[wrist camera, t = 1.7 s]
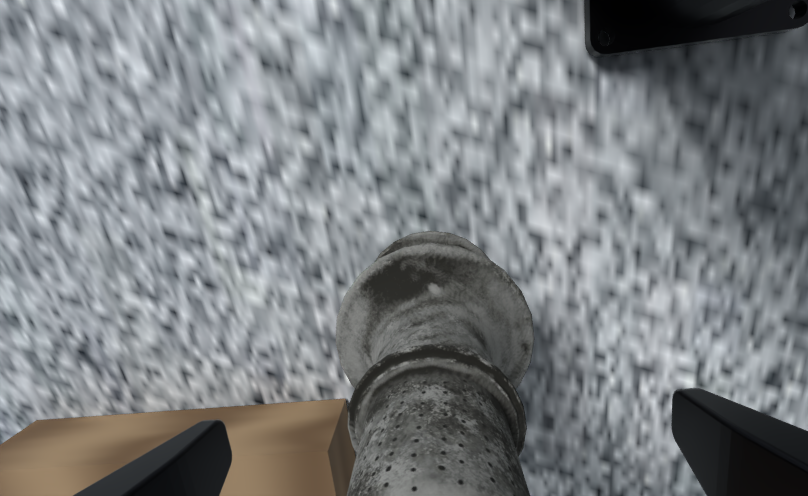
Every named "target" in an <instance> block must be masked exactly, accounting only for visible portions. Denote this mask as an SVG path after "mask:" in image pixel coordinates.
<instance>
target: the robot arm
mask: <svg viewBox="0 0 808 496" xmlns="http://www.w3.org/2000/svg"><path fill="white" fill-rule="evenodd" d="M584 4H585V44H586V49H587V50H588V52H589V53H590V54H591V55H593V56H595V57H607V56H614V55H622V54H629V53H636V52H643V51H651V50H658V49H665V48H673V47H680V46H687V45H694V44H702V43H709V42H716V41H724V40H731V39H738V38H746V37H753V36H760V35H767V34H775V33H782V32H787V31H790V30H793V29H795V28H798V27H801V26H804V25H805V24H806V23H808V0H584ZM790 6H792V7H793V8H794V9H795V15H794V18H793V19H792V18H791V17H790V16H789V8H790ZM600 32H606V33H607V34H608V35H609V39H610V40H609V44H608V45H607V46H604V45H602V44H600V43H599V40H598V36H599V33H600ZM671 426H672V433H673V436H674V439H675V441H676V443H677V445H678V446H679V448H680V450H681V452H682V453H683V455H684V457H685V458H686V460H687V462H688V464H689V465H690V467H691V469H692V471H693V472H694V474H695V476H696V477H697V479H698V481H699V483H700V484H701V486H702V488H703V490H704V491H705V493H706V495H707V496H808V431H806V430H804V429H801V428H798V427H796V426H793V425H791V424H788V423H786V422H783V421H781V420H778V419H776V418H773V417H771V416H768V415H766V414H763V413H761V412H758V411H756V410H753V409H751V408H748V407H746V406H743V405H741V404H738V403H736V402H733V401H731V400H728V399H725V398H723V397H720V396H718V395H715V394H713V393H710V392H708V391H705V390H703V389H700V388H690V389H678V390H676V391H675V392H674V394H673V398H672V425H671ZM231 463H232V450H231V446H230V442H229V438H228V434H227V430H226V426H225V424H224V422H223V421H222V420H219V419H217V420H203V421H200V422H198V423H197V424H195V425H193V426H192V427H190V428H188V429H186V430H185V431H183V432H181V433H180V434H178V435H176V436H174V437H173V438H171V439H169V440H167V441H166V442H164V443H162V444H161V445H159V446H157V447H155V448H154V449H152V450H150V451H149V452H147V453H145V454H143V455H142V456H140V457H138V458H136V459H135V460H133V461H131V462H130V463H128V464H126V465H124V466H123V467H121V468H119V469H118V470H116V471H114V472H112V473H111V474H109V475H107V476H105V477H104V478H102V479H100V480H99V481H97V482H95V483H93V484H92V485H90V486H88V487H87V488H85V489H83V490H81V491H80V492H78V493H76V494H74V495H73V496H219V495H220V493H221V490H222V487H223V485H224V482H225V480H226V477H227V474H228V472H229V469H230V466H231Z"/></svg>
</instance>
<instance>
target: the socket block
mask: <svg viewBox="0 0 808 496" xmlns="http://www.w3.org/2000/svg"><path fill="white" fill-rule="evenodd" d="M217 419H219V420H222V421H223V422H224V424H225V426H226V430H227V434H228V438H229V442H230V446H231V450H232V463H231V466H230V469H229V472H228V474H227V477H226V480H225V482H224V485H223V487H222V490H221V493H220V495H219V496H347V492H348V488H349V484H350V480H351V475H352V471H353V467H354V463H355V459H356V457H355V451H354V448H353V446H352V442H351V438H350V434H349V430H348V410H347V404H346V399H334V400H320V401H305V402H291V403H277V404H263V405H248V406H234V407H220V408H206V409H192V410H177V411H163V412H149V413H135V414H120V415H106V416H92V417H78V418H64V419H49V420H36V421H35V422H33V423H32V424H31V425H29V426H28V427H26V428H25V429H23V430H22V431H20V432H19V433H17V434H16V435H14V436H13V437H11V438H10V439H8V440H7V441H5V442H4V443H2V444H1V445H0V496H73V495H74V494H76V493H78V492H80V491H81V490H83V489H85V488H87V487H88V486H90V485H92V484H93V483H95V482H97V481H99V480H100V479H102V478H104V477H105V476H107V475H109V474H111V473H112V472H114V471H116V470H118V469H119V468H121V467H123V466H124V465H126V464H128V463H130V462H131V461H133V460H135V459H136V458H138V457H140V456H142V455H143V454H145V453H147V452H149V451H150V450H152V449H154V448H155V447H157V446H159V445H161V444H162V443H164V442H166V441H167V440H169V439H171V438H173V437H174V436H176V435H178V434H180V433H181V432H183V431H185V430H186V429H188V428H190V427H192V426H193V425H195V424H197V423H198V422H200V421H203V420H217Z"/></svg>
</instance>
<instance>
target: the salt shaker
mask: <svg viewBox="0 0 808 496" xmlns="http://www.w3.org/2000/svg"><path fill="white" fill-rule="evenodd" d="M533 344H534V331H533V323H532V315H531V312H530V310H529V308H528V305H527V303H526V301H525V298H524V296H523V294H522V291H521V290H520V289H519V288H518V286H517V285H516V284H515V283H514V281H513V280H512V279H511V278H510V277H509V275H508V274H507V273H506V272H505V270H503V269H502V268H500V267H499V266H497V265H496V264H495V263H493V262H492V261H490V260H489V259H488V257H487V256H486V255H485V254H484V253H483V251H482V250H481V249H479V248H478V247H477V246H475V245H474V244H472V243H471V242H469V241H468V240H467V239H464V238H462V237H459V236H456V235H453V234H451V233H446V232H435V231H427V232H421V233H415V234H411V235H408V236H406V237H404V238H402V239H399V240H397V241H395V242H394V243H392V244H391V245H390V246H389V247H388V248H386V249H385V250H384V251H383V252H381V254H380V255H379V256H378V258H377V259H376V261H375V262H374V263H373V264H372V265H371V266H369V267H368V268H367V269H366V270H364V271H363V272H362V273H361V274H360V275H359V276H358V277H357V279H356V280H355V282H354V283H353V285H352V286H351V287H350V289H349V290H348V292H347V293H346V295H345V296H344V299H343V302H342V305H341V308H340V311H339V314H338V317H337V326H336V346H337V350H338V354H339V358H340V363H341V366H342V368H343V370H344V371H345V373H346V375H347V377H348V379H349V381H350V382H351V384H352V386H353V387H354V388H355V390H354V393H353V396H352V398H351V401H350V404H349V407H348V430H349V434H350V438H351V442H352V446H353V448H354V449H355V451H356V453H357V454H356V459H355V463H354V467H353V471H352V475H351V480H350V484H349V488H348V492H347V496H530V495H529V491H528V488H527V485H526V481H525V478H524V475H523V471H522V468H521V465H520V461H519V458H518V457H519V455H520V453H521V451H522V449H523V446H524V441H525V435H526V429H527V426H526V419H525V412H524V406H523V404H522V402H521V400H520V397H519V395H518V393H517V391H516V388H517V387H518V386H519V385H520V383H521V381H522V379H523V377H524V375H525V372H526V370H527V368H528V366H529V364H530V361H531V356H532V350H533Z"/></svg>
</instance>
